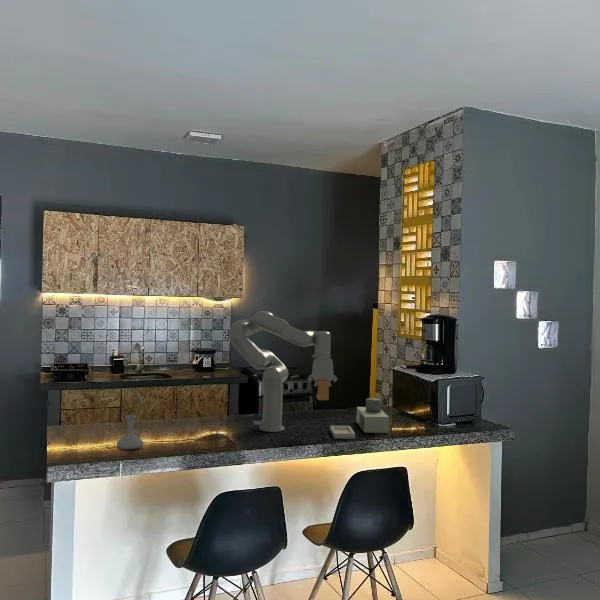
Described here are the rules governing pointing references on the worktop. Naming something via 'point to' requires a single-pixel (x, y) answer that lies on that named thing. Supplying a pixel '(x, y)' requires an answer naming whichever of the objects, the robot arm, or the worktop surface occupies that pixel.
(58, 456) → the worktop surface
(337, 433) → the frame
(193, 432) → the worktop surface
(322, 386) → the chute block
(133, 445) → the flower in vase
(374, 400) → the block with top knob
